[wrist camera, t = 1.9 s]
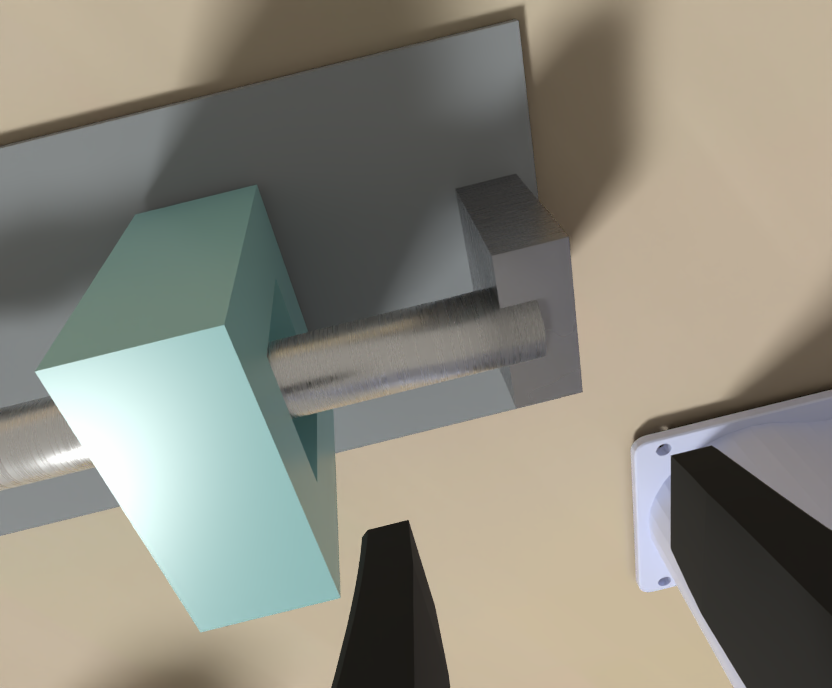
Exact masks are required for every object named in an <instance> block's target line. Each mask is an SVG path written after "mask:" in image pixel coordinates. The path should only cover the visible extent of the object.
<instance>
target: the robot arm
mask: <svg viewBox="0 0 832 688" xmlns="http://www.w3.org/2000/svg"><path fill="white" fill-rule="evenodd" d="M662 444H664V445H663V446H662V447H660V448H658V447H659V446H660V445H662ZM631 469H632V493H633V517H634V541H635V565H636V581H637V584H638V586H639V588H640V589H641V590H642V591H644V592H653V591H657V590H661V589H665V588H669V587H673V586H677V587H678V589H679V590H680V592H681V594H682V596H683V598H684V599H685V601H686V603H687V605H688V607H689V608H690V610H691V612H692V614H693V616H694V617H695V619H696V621H697V623H698V625H699V626H700V628H701V630H702V632H703V634H704V635H705V637H706V639H707V641H708V643H709V644H710V646H711V648H712V650H713V652H714V653H715V655H716V657H717V659H718V661H719V662H720V664H721V666H722V668H723V670H724V671H725V673H726V675H727V677H728V679H729V680H730V682H731V684H732V686H733V688H832V390H828V391H824V392H820V393H816V394H811V395H807V396H803V397H799V398H795V399H791V400H787V401H783V402H779V403H775V404H771V405H767V406H763V407H759V408H755V409H751V410H747V411H742V412H738V413H734V414H730V415H726V416H722V417H718V418H714V419H710V420H706V421H702V422H698V423H694V424H690V425H686V426H682V427H677V428H673V429H669V430H665V431H661V432H657V433H653V434H649V435H645V436H642V437H640V438H638V439H637V440H636V441H635V442H634V443H633V444H632V446H631ZM331 688H450V682H449V674H448V669H447V664H446V659H445V654H444V649H443V644H442V639H441V634H440V629H439V624H438V619H437V614H436V609H435V605H434V602H433V598H432V595H431V592H430V589H429V585H428V582H427V579H426V576H425V572H424V569H423V566H422V563H421V559H420V556H419V553H418V550H417V546H416V543H415V540H414V537H413V533H412V530H411V527H410V524H409V520H407V521H402V522H398V523H394V524H390V525H386V526H382V527H378V528H374V529H370V530H368V531H367V532H366V533H365V534H364V536H363V537H362V545H361V554H360V562H359V568H358V575H357V581H356V586H355V591H354V596H353V601H352V606H351V611H350V616H349V620H348V625H347V629H346V633H345V637H344V641H343V645H342V649H341V653H340V657H339V660H338V664H337V668H336V672H335V676H334V680H333V683H332V687H331Z"/></svg>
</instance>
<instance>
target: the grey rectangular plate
mask: <svg viewBox="0 0 832 688" xmlns="http://www.w3.org/2000/svg"><path fill="white" fill-rule="evenodd" d="M512 174H517V175H518V177H519V178H520V179H521V180H522V181H523V183H524V184H525V185H526V186H527V187H528V189H529V190H530V191H531V192H532V193H533V195H534V196H535V197H536V198H537V199H538V191H537V182H536V173H535V164H534V155H533V146H532V137H531V128H530V119H529V110H528V101H527V92H526V83H525V74H524V65H523V56H522V47H521V39H520V30H519V21H518V20H516V19H514V20H510V21H506V22H502V23H498V24H494V25H490V26H485V27H481V28H477V29H473V30H469V31H465V32H461V33H457V34H453V35H449V36H445V37H441V38H437V39H433V40H429V41H425V42H421V43H417V44H413V45H408V46H404V47H400V48H396V49H392V50H388V51H384V52H380V53H376V54H372V55H368V56H364V57H360V58H356V59H352V60H348V61H344V62H340V63H336V64H331V65H327V66H323V67H319V68H315V69H311V70H307V71H303V72H299V73H295V74H291V75H287V76H283V77H279V78H275V79H271V80H267V81H263V82H259V83H254V84H250V85H246V86H242V87H238V88H234V89H230V90H226V91H222V92H218V93H214V94H210V95H206V96H202V97H198V98H194V99H190V100H186V101H182V102H177V103H173V104H169V105H165V106H161V107H157V108H153V109H149V110H145V111H141V112H137V113H133V114H129V115H125V116H121V117H117V118H113V119H109V120H105V121H101V122H96V123H92V124H88V125H84V126H80V127H76V128H72V129H68V130H64V131H60V132H56V133H52V134H48V135H44V136H40V137H36V138H32V139H28V140H24V141H19V142H15V143H11V144H7V145H3V146H0V408H2V407H6V406H10V405H14V404H18V403H22V402H27V401H31V400H35V399H39V398H43V397H47V396H50V395H49V393H48V392H47V390H46V388H45V387H44V385H43V384H42V382H41V381H40V379H39V377H38V376H37V374H36V373H35V370H36V369H37V367H38V366H39V364H40V363H41V361H42V360H43V358H44V356H45V355H46V353H47V352H48V350H49V349H50V347H51V345H52V344H53V342H54V341H55V339H56V338H57V336H58V335H59V333H60V331H61V330H62V328H63V327H64V325H65V324H66V322H67V320H68V319H69V317H70V316H71V314H72V313H73V311H74V310H75V308H76V306H77V305H78V303H79V302H80V300H81V299H82V297H83V296H84V294H85V292H86V291H87V289H88V288H89V286H90V285H91V283H92V281H93V280H94V278H95V277H96V275H97V274H98V272H99V271H100V269H101V267H102V266H103V264H104V263H105V261H106V260H107V258H108V256H109V255H110V253H111V252H112V250H113V249H114V247H115V246H116V244H117V242H118V241H119V239H120V238H121V236H122V235H123V233H124V232H125V230H126V228H127V227H128V225H129V224H130V222H131V221H132V219H133V217H134V216H135V214H139V213H143V212H147V211H151V210H155V209H159V208H164V207H168V206H172V205H176V204H180V203H184V202H188V201H192V200H196V199H200V198H204V197H208V196H212V195H216V194H220V193H224V192H228V191H232V190H237V189H241V188H245V187H249V186H253V185H257V186H258V189H259V192H260V195H261V198H262V201H263V203H264V206H265V209H266V212H267V215H268V218H269V221H270V224H271V226H272V229H273V232H274V235H275V238H276V241H277V244H278V247H279V249H280V252H281V255H282V258H283V261H284V264H285V267H286V270H287V272H288V275H289V278H290V281H291V284H292V287H293V290H294V293H295V295H296V298H297V301H298V304H299V307H300V310H301V313H302V315H303V318H304V321H305V324H306V327H307V330H308V332H311V331H315V330H319V329H323V328H327V327H331V326H335V325H339V324H343V323H347V322H351V321H355V320H359V319H363V318H367V317H371V316H375V315H379V314H384V313H388V312H392V311H396V310H400V309H404V308H408V307H412V306H416V305H420V304H424V303H428V302H432V301H436V300H440V299H444V298H448V297H452V296H457V295H461V294H465V293H469V292H473V285H472V280H471V274H470V269H469V263H468V258H467V252H466V247H465V241H464V236H463V230H462V224H461V219H460V213H459V208H458V202H457V197H456V191H455V189H456V188H460V187H464V186H468V185H472V184H476V183H480V182H484V181H488V180H492V179H496V178H500V177H504V176H508V175H512ZM538 201H539V200H538ZM560 398H561V397H560ZM556 399H558V398H556ZM552 400H554V399H552ZM548 401H550V400H548ZM544 402H545V401H544ZM540 403H541V402H540ZM536 404H537V403H536ZM532 405H533V404H532ZM528 406H529V405H528ZM524 407H525V406H524ZM520 408H521V407H520ZM513 409H517V408H516V407H515V405H514V402H513V400H512V398H511V395H510V393H509V390H508V388H507V386H506V383H505V381H504V379H503V376H502V374H501V371H500V369H499V368H497V369H493V370H489V371H485V372H481V373H476V374H472V375H468V376H464V377H460V378H456V379H452V380H448V381H444V382H440V383H436V384H432V385H428V386H424V387H420V388H416V389H412V390H407V391H403V392H399V393H395V394H391V395H387V396H383V397H379V398H375V399H371V400H367V401H363V402H359V403H355V404H351V405H347V406H343V407H339V408H334V409H333V413H334V439H335V453H338V452H343V451H347V450H351V449H355V448H359V447H363V446H367V445H371V444H375V443H379V442H383V441H387V440H391V439H395V438H399V437H403V436H407V435H412V434H416V433H420V432H424V431H428V430H432V429H436V428H440V427H444V426H448V425H452V424H456V423H460V422H464V421H468V420H472V419H476V418H481V417H485V416H489V415H493V414H497V413H501V412H505V411H509V410H513ZM119 506H120V505H119V503H118V502H117V500H116V498H115V497H114V495H113V494H112V492H111V491H110V489H109V487H108V486H107V484H106V483H105V481H104V480H103V478H102V476H101V475H100V473H99V472H98V470H97V469H96V467H95V468H91V469H87V470H83V471H79V472H75V473H71V474H67V475H63V476H59V477H54V478H50V479H46V480H42V481H38V482H34V483H30V484H26V485H22V486H18V487H14V488H10V489H6V490H2V491H0V536H2V535H6V534H10V533H14V532H18V531H22V530H26V529H30V528H34V527H38V526H42V525H46V524H50V523H54V522H58V521H62V520H67V519H71V518H75V517H79V516H83V515H87V514H91V513H95V512H99V511H103V510H107V509H111V508H115V507H119Z"/></svg>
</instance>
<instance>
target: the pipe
mask: <svg viewBox="0 0 832 688" xmlns="http://www.w3.org/2000/svg"><path fill="white" fill-rule="evenodd" d="M455 191H456V197H457V202H458V208H459V213H460V219H461V224H462V230H463V236H464V241H465V247H466V252H467V258H468V263H469V269H470V274H471V280H472V285H473V292H469V293H465V294H461V295H457V296H452V297H448V298H444V299H440V300H436V301H432V302H428V303H424V304H420V305H416V306H412V307H408V308H404V309H400V310H396V311H392V312H388V313H384V314H379V315H375V316H371V317H367V318H363V319H359V320H355V321H351V322H347V323H343V324H339V325H335V326H331V327H327V328H323V329H319V330H315V331H311V332H306V333H302V334H298V335H294V336H290V337H286V338H282V339H278V340H274V341H270V342H268V348H267V358H268V360H269V363H270V365H271V368H272V370H273V373H274V375H275V378H276V380H277V383H278V385H279V388H280V390H281V393H282V395H283V398H284V401H285V403H286V406H287V408H288V411H289V413H290V416H291V418H292V419H294V418H298V417H302V416H306V415H310V414H314V413H318V412H322V411H326V410H330V409H334V408H339V407H343V406H347V405H351V404H355V403H359V402H363V401H367V400H371V399H375V398H379V397H383V396H387V395H391V394H395V393H399V392H403V391H407V390H412V389H416V388H420V387H424V386H428V385H432V384H436V383H440V382H444V381H448V380H452V379H456V378H460V377H464V376H468V375H472V374H476V373H481V372H485V371H489V370H493V369H497V368H499V369H500V371H501V374H502V376H503V379H504V381H505V383H506V386H507V388H508V390H509V393H510V395H511V398H512V400H513V402H514V405H515V407H516V408H520V407H524V406H528V405H532V404H536V403H540V402H544V401H548V400H552V399H556V398H560V397H565V396H569V395H573V394H577V393H581V392H583V391H582V379H581V368H580V357H579V345H578V334H577V323H576V311H575V300H574V289H573V277H572V266H571V255H570V243H569V236H568V235H567V234H566V233H565V232H564V230H563V229H562V228H561V227H560V226H559V224H558V223H557V222H556V221H555V220H554V218H553V217H552V216H551V215H550V214H549V212H548V211H547V210H546V209H545V208H544V207H543V205H542V204H541V203H540V202H539V201H538V199H537V198H536V197H535V196H534V195H533V193H532V192H531V191H530V190H529V189H528V187H527V186H526V185H525V184H524V183H523V181H522V180H521V179H520V178H519V177H518V175H517V174H512V175H508V176H504V177H500V178H496V179H492V180H488V181H484V182H480V183H476V184H472V185H468V186H464V187H460V188H456V189H455ZM91 468H95V465H94V464H93V462H92V461H91V459H90V458H89V456H88V454H87V453H86V451H85V450H84V448H83V447H82V445H81V443H80V442H79V440H78V439H77V437H76V436H75V434H74V432H73V431H72V429H71V428H70V426H69V425H68V423H67V421H66V420H65V418H64V417H63V415H62V414H61V412H60V410H59V409H58V407H57V406H56V404H55V403H54V401H53V399H52V398H51V396H47V397H43V398H39V399H35V400H31V401H27V402H22V403H18V404H14V405H10V406H6V407H2V408H0V491H2V490H6V489H10V488H14V487H18V486H22V485H26V484H30V483H34V482H38V481H42V480H46V479H50V478H54V477H59V476H63V475H67V474H71V473H75V472H79V471H83V470H87V469H91Z"/></svg>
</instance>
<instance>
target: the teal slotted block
mask: <svg viewBox="0 0 832 688" xmlns="http://www.w3.org/2000/svg"><path fill="white" fill-rule="evenodd" d="M306 332H308V330H307V327H306V324H305V321H304V318H303V315H302V313H301V310H300V307H299V304H298V301H297V298H296V295H295V293H294V290H293V287H292V284H291V281H290V278H289V275H288V272H287V270H286V267H285V264H284V261H283V258H282V255H281V252H280V249H279V247H278V244H277V241H276V238H275V235H274V232H273V229H272V226H271V224H270V221H269V218H268V215H267V212H266V209H265V206H264V203H263V201H262V198H261V195H260V192H259V189H258V186H257V185H253V186H249V187H245V188H241V189H237V190H232V191H228V192H224V193H220V194H216V195H212V196H208V197H204V198H200V199H196V200H192V201H188V202H184V203H180V204H176V205H172V206H168V207H164V208H159V209H155V210H151V211H147V212H143V213H139V214H135V216H134V217H133V219H132V221H131V222H130V224H129V225H128V227H127V228H126V230H125V232H124V233H123V235H122V236H121V238H120V239H119V241H118V242H117V244H116V246H115V247H114V249H113V250H112V252H111V253H110V255H109V256H108V258H107V260H106V261H105V263H104V264H103V266H102V267H101V269H100V271H99V272H98V274H97V275H96V277H95V278H94V280H93V281H92V283H91V285H90V286H89V288H88V289H87V291H86V292H85V294H84V296H83V297H82V299H81V300H80V302H79V303H78V305H77V306H76V308H75V310H74V311H73V313H72V314H71V316H70V317H69V319H68V320H67V322H66V324H65V325H64V327H63V328H62V330H61V331H60V333H59V335H58V336H57V338H56V339H55V341H54V342H53V344H52V345H51V347H50V349H49V350H48V352H47V353H46V355H45V356H44V358H43V360H42V361H41V363H40V364H39V366H38V367H37V369H36V370H35V373H36V374H37V376H38V377H39V379H40V381H41V382H42V384H43V385H44V387H45V388H46V390H47V392H48V393H49V395H50V396H51V398H52V399H53V401H54V403H55V404H56V406H57V407H58V409H59V410H60V412H61V414H62V415H63V417H64V418H65V420H66V421H67V423H68V425H69V426H70V428H71V429H72V431H73V432H74V434H75V436H76V437H77V439H78V440H79V442H80V443H81V445H82V447H83V448H84V450H85V451H86V453H87V454H88V456H89V458H90V459H91V461H92V462H93V464H94V465H95V467H96V469H97V470H98V472H99V473H100V475H101V476H102V478H103V480H104V481H105V483H106V484H107V486H108V487H109V489H110V491H111V492H112V494H113V495H114V497H115V498H116V500H117V502H118V503H119V505H120V506H121V508H122V509H123V511H124V513H125V514H126V516H127V517H128V519H129V520H130V522H131V524H132V525H133V527H134V528H135V530H136V531H137V533H138V535H139V536H140V538H141V539H142V541H143V542H144V544H145V546H146V547H147V549H148V550H149V552H150V553H151V555H152V557H153V558H154V560H155V561H156V563H157V564H158V566H159V568H160V569H161V571H162V572H163V574H164V575H165V577H166V579H167V580H168V582H169V583H170V585H171V586H172V588H173V590H174V591H175V593H176V594H177V596H178V597H179V599H180V601H181V602H182V604H183V605H184V607H185V608H186V610H187V612H188V613H189V615H190V616H191V618H192V619H193V621H194V623H195V624H196V626H197V627H198V629H199V630H200V632H204V631H208V630H212V629H216V628H220V627H224V626H228V625H232V624H236V623H240V622H244V621H249V620H253V619H257V618H261V617H265V616H269V615H273V614H277V613H281V612H285V611H289V610H293V609H297V608H301V607H305V606H309V605H314V604H318V603H322V602H326V601H330V600H334V599H338V598H341V597H340V571H339V544H338V518H337V492H336V465H335V439H334V413H333V409H330V410H326V411H322V412H318V413H314V414H310V415H306V416H302V417H298V418H294V419H292V418H291V416H290V413H289V411H288V408H287V406H286V403H285V401H284V398H283V395H282V393H281V390H280V388H279V385H278V383H277V380H276V378H275V375H274V373H273V370H272V368H271V365H270V363H269V360H268V358H267V348H268V342H270V341H274V340H278V339H282V338H286V337H290V336H294V335H298V334H302V333H306Z"/></svg>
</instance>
